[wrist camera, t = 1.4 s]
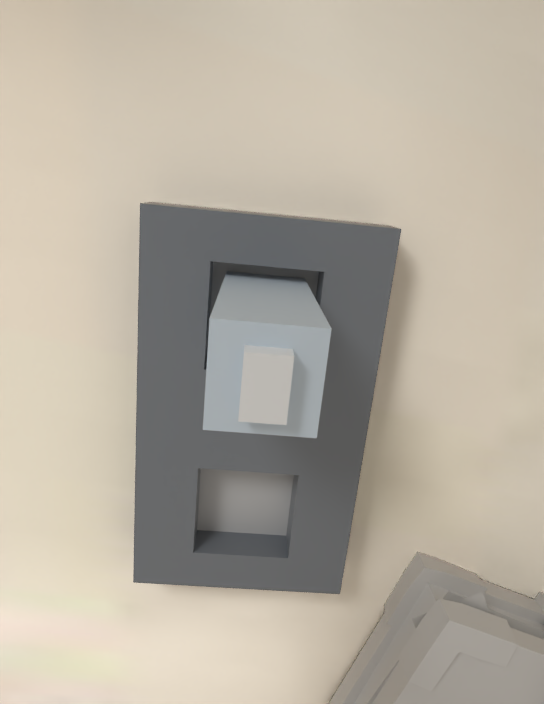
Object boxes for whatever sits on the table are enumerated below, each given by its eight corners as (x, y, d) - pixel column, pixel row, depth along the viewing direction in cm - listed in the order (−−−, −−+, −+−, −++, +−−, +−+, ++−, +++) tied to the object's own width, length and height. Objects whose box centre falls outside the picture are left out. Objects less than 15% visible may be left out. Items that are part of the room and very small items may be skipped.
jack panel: (151, 202, 25) (140, 203, 23) (387, 225, 26) (401, 229, 24) (142, 552, 32) (133, 582, 29) (333, 564, 32) (339, 594, 30)
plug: (226, 271, 26) (207, 324, 16) (304, 278, 26) (335, 335, 16) (221, 345, 27) (200, 440, 17) (295, 352, 27) (319, 449, 17)
